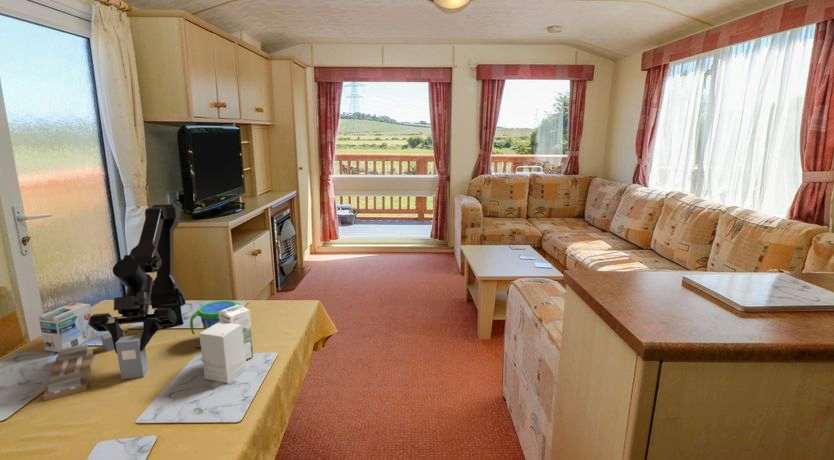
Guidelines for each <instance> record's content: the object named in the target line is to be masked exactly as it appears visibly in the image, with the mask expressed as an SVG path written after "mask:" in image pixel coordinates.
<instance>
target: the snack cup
mask: <svg viewBox="0 0 834 460" xmlns="http://www.w3.org/2000/svg"><path fill="white" fill-rule="evenodd" d="M236 305H239V306H242V305H241V304H239V303H236V302H235V301H232V300H217V301H211V302H208V303H205V304H203V305H200V307H198V310H197V311H195V312H194V313H193V314H192V315H191V317H190V319H189V320H190V321H189V327H190V330H191V333H192V335H195V331H194V322H193V321H194V319H196V317H200V318H201V323H202V326H203V327H202V328H203V331H204V330H206V329H208V328H209V327H211V326H213V325H215V324H216V323H218V322H219V313H218V312H219V311H222V310H225V309H227V308H230V307H233V306H236Z"/></svg>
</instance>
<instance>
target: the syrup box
mask: <svg viewBox="0 0 834 460" xmlns="http://www.w3.org/2000/svg"><path fill="white" fill-rule="evenodd" d="M239 305H240V304H239ZM239 305H236V306H233V307H230V308H227V309H225V310H222V311H219V312H218V313H219V322H225V323H232V324H239V325H242V331H243V340H244V349H245V358H246V360H247V359H249V358H251V357H253V358H254V350H253V349H254V347H253V337H252V325H251V314H250V313H251V311H250V309H249V308H247V307H245V306H243V305H241V306H239ZM251 359H252V358H251ZM249 360H250V359H249ZM247 361H248V360H247Z"/></svg>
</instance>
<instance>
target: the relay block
mask: <svg viewBox="0 0 834 460" xmlns="http://www.w3.org/2000/svg"><path fill="white" fill-rule="evenodd" d="M124 336H126V333H125V332H124V333H123V337H124ZM100 338H101V342H102V343H101V344H102V347H103V349H104V350H105V351H106V353H107V352H112V351H115V348H114V344H113V340H112V336H111V334H110V332H106V333H103V334H101V335H100Z"/></svg>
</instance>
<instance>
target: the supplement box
mask: <svg viewBox="0 0 834 460" xmlns="http://www.w3.org/2000/svg"><path fill="white" fill-rule="evenodd" d="M198 336H199V343H200V351H201V357H202V365H203V373H204V379H205V380H210V381H215V382H220V383H226V384H229V383H230V382H232V381H233V380H234V379H235V377H236V376H237V377H238V376H240V375H241V374H242V373H243V371H244V370H245V369H246V368H248V367H247V361H246V358H245V349H244V340H243V331H242V325H239V324H232V323H225V322H218V323H216V324H215V325H213V326H211V327H209V328H208V329H206V330H204V329H203V331H200V332H199V333H198ZM246 370H247V369H246ZM246 370H245V371H246ZM245 371H244V372H245ZM241 372H242V373H241ZM240 373H241V374H240ZM239 374H240V375H239ZM237 377H236V378H237ZM232 379H233V380H232Z"/></svg>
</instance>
